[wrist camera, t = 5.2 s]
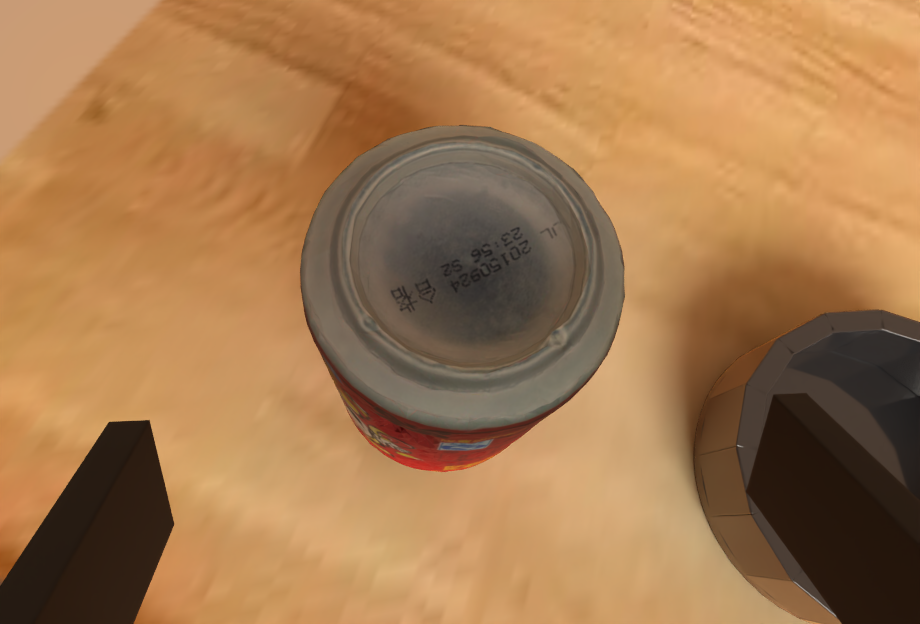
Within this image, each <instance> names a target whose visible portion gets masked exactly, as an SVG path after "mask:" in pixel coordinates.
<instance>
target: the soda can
mask: <svg viewBox="0 0 920 624" xmlns="http://www.w3.org/2000/svg"><path fill="white" fill-rule="evenodd" d="M300 276H301V292H302V299H303V305H304V312H305V317H306V321H307V325H308V327H309V330H310V332H311V335H312V337H313V340H314V342H315V344H316V346H317V348H318V350H319V351H320V353H321V356H322V358H323V360H324V362H325V364H326V366H327V368H328V370H329V373H330V375H331V377H332V379H333V381H334V383H335V385H336V387H337V389H338V391H339V393H340V396H341V398H342V400H343V402H344V404H345V406H346V408H347V411H348V413H349V415H350V417H351V419H352V420H353V422H354V424H355V425H356V427H357V428H358V430H359V431H360V432H361V433H362V435H363V436H364V437H365V438H366V439H367V441H368V442H369V443H370V444H371V445H372V446H374V447H375V448H377V449H378V450H379V451H381V452H382V453H383V454H384V455H386V456H387V457H389V458H391V459H393V460H395V461H396V462H398V463H401V464H403V465H406V466H409V467H412V468H416V469H421V470H429V471H440V472H447V471H454V470H462V469H466V468H469V467H472V466H475V465H478V464H480V463H482V462H484V461H486V460H488V459H490V458H492V457H493V456H495V455H497V454H498V453H500V452H501V451H503V450H504V449H505V448H507V447H508V446H509V445H510V444H511V443H513V442H514V441H516V440H517V439H519V438H520V437H521V436H523V435H524V434H525V433H526V432H528V431H529V430H530V429H531V428H533V427H534V426H535V425H536V424H537V423H539V422H540V421H541V420H543V419H544V418H546V417H547V416H548V415H550V414H551V413H553V412H555V411H556V410H557V409H559V408H560V407H561V406H563V405H564V404H565V403H567V402H568V401H569V400H570V399H571V398H572V397H573V396H574V395H575V394H576V393H577V392H578V391H579V390H580V389H581V388H582V387H583V386H584V385H585V384H586V383H587V382H588V381H589V380H590V379H591V378H592V376H593V375H594V374H595V372H596V371H597V369H598V368H599V366H600V365H601V363H602V362H603V360H604V359H605V357H606V356H607V354H608V352H609V350H610V347H611V345H612V342H613V340H614V338H615V334H616V331H617V328H618V325H619V321H620V316H621V312H622V307H623V302H624V298H625V292H624V262H623V255H622V250H621V246H620V243H619V240H618V237H617V234H616V231H615V228H614V226H613V224H612V222H611V220H610V218H609V216H608V215H607V213H606V212H605V211H604V209H603V208H602V206H601V205H600V203H599V202H598V200H597V198H596V196H595V194H594V192H593V191H592V190H591V188H590V187H589V186H588V185H587V184H586V183H585V181H584V180H583V179H582V177H581V176H580V175H579V174H578V173H577V172H576V171H575V170H574V169H573V168H571V167H570V166H568V165H567V164H566V163H564V162H563V161H562V160H560V159H559V158H557V157H556V156H554V155H553V154H552V153H550V152H548V151H547V150H545V149H544V148H542V147H540V146H539V145H537V144H535V143H533V142H530V141H528V140H525V139H522V138H519V137H517V136H514V135H511V134H508V133H504V132H502V131H499V130H496V129H494V128H491V127H482V126H467V125H459V126H434V127H428V128H424V129H421V130H417V131H414V132H409V133H405V134H401V135H398V136H396V137H393V138H390V139H387V140H386V141H384V142H382V143H381V144H379V145H377V146H375V147H374V148H372V149H370V150H369V151H367V152H365V153H363V154H362V155H360V156H358V157H357V158H356V159H355V160H354V161H353V162H352V163H351V164H350V165H349V166H348V167H347V168H346V169H345V170H343V171H342V173H341V174H340V175H339V176H338V177H337V178H336V179H335V181H334V182H333V183H332V184H331V185H330V186H329V188H328V189H327V190H326V191H325V193H324V194H323V196H322V198H321V200H320V202H319V204H318V206H317V208H316V210H315V212H314V214H313V217H312V220H311V223H310V226H309V229H308V232H307V234H306V237H305V242H304V246H303V250H302V256H301V267H300Z"/></svg>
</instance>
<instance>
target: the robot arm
mask: <svg viewBox="0 0 920 624" xmlns="http://www.w3.org/2000/svg"><path fill="white" fill-rule="evenodd" d="M746 492H747V494H748V495H749V496H750V498H751V499H752V501H753V502H754V503H755V505H756V506H757V507H758V509H759V510H760V512H761V513H762V514H763V516H764V517H765V519H766V520H767V521H768V523H769V524H770V525H771V527H772V528H773V530H774V531H775V532H776V534H777V535H778V536H779V538H780V539H781V541H782V542H783V543H784V545H785V546H786V548H787V549H788V550H789V552H790V553H791V554H792V556H793V557H794V559H795V560H796V561H797V563H798V564H799V565H800V567H801V568H802V570H803V571H804V572H805V574H806V575H807V577H808V578H809V579H810V581H811V582H812V583H813V585H814V586H815V588H816V589H817V590H818V592H819V593H820V594H821V596H822V597H823V599H824V600H825V601H826V603H827V604H828V606H829V607H830V608H831V610H832V611H833V612H834V614H835V615H836V617H837V618H838V619H839V621H840V622H841V623H842V624H920V500H919V499H918V498H917V497H916V496H915V495H914V494H913V493H911V492H910V491H909V490H908V489H907V488H906V487H905V486H904V485H903V484H902V483H901V482H900V481H899V480H898V479H897V478H896V477H895V476H893V475H892V474H891V473H890V472H889V471H888V470H887V469H886V468H885V467H884V466H883V465H882V464H881V463H880V462H879V461H878V460H877V459H875V458H874V457H873V456H872V455H871V454H870V453H869V452H868V451H867V450H866V449H865V448H864V447H863V446H862V445H861V444H860V443H859V442H858V441H856V440H855V439H854V438H853V437H852V436H851V435H850V434H849V433H848V432H847V431H846V430H845V429H844V428H843V427H842V426H841V425H840V424H838V423H837V422H836V421H835V420H834V419H833V418H832V417H831V416H830V415H829V414H828V413H827V412H826V411H825V410H824V409H823V408H822V407H820V406H819V405H818V404H817V403H816V402H815V401H814V400H813V399H812V398H811V397H810V396H809V395H808V394H807V393H795V394H773V397H772V401H771V405H770V408H769V412H768V415H767V419H766V422H765V426H764V429H763V433H762V436H761V440H760V444H759V447H758V451H757V454H756V458H755V461H754V465H753V468H752V472H751V476H750V479H749V483H748V486H747V490H746ZM173 526H174V521H173V517H172V513H171V508H170V504H169V500H168V496H167V492H166V488H165V483H164V479H163V475H162V471H161V467H160V462H159V458H158V454H157V450H156V446H155V441H154V437H153V433H152V429H151V425H150V421H149V420H145V421H120V422H109V423H108V424H107V426H106V427H105V429H104V430H103V432H102V433H101V435H100V436H99V438H98V439H97V441H96V442H95V444H94V446H93V447H92V449H91V450H90V452H89V453H88V455H87V456H86V458H85V459H84V461H83V462H82V464H81V465H80V467H79V468H78V470H77V471H76V473H75V474H74V476H73V477H72V479H71V480H70V482H69V483H68V485H67V486H66V488H65V489H64V491H63V492H62V494H61V495H60V497H59V498H58V500H57V501H56V503H55V504H54V506H53V507H52V509H51V510H50V512H49V513H48V515H47V516H46V518H45V519H44V521H43V522H42V524H41V525H40V527H39V528H38V530H37V531H36V533H35V534H34V536H33V537H32V539H31V540H30V542H29V543H28V545H27V546H26V548H25V550H24V551H23V553H22V554H21V556H20V557H19V559H18V560H17V562H16V563H15V565H14V566H13V568H12V569H11V571H10V572H9V574H8V575H7V577H6V578H5V580H4V581H3V583H2V584H1V586H0V624H134V621H135V619H136V616H137V614H138V611H139V609H140V606H141V604H142V602H143V599H144V597H145V594H146V592H147V589H148V587H149V585H150V582H151V580H152V577H153V575H154V572H155V570H156V567H157V565H158V563H159V560H160V558H161V555H162V553H163V550H164V548H165V545H166V543H167V541H168V538H169V536H170V533H171V531H172V528H173Z"/></svg>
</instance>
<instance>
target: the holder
mask: <svg viewBox="0 0 920 624" xmlns="http://www.w3.org/2000/svg"><path fill="white" fill-rule="evenodd" d="M795 393H807V394H808V395H809V396H810V397H811V398H812V399H813V400H814V401H815V402H816V403H817V404H818V405H819V406H820V407H822V408H823V409H824V410H825V411H826V412H827V413H828V414H829V415H830V416H831V417H832V418H833V419H834V420H835V421H836V422H837V423H838V424H840V425H841V426H842V427H843V428H844V429H845V430H846V431H847V432H848V433H849V434H850V435H851V436H852V437H853V438H854V439H855V440H856V441H858V442H859V443H860V444H861V445H862V446H863V447H864V448H865V449H866V450H867V451H868V452H869V453H870V454H871V455H872V456H873V457H874V458H875V459H877V460H878V461H879V462H880V463H881V464H882V465H883V466H884V467H885V468H886V469H887V470H888V471H889V472H890V473H891V474H892V475H893V476H895V477H896V478H897V479H898V480H899V481H900V482H901V483H902V484H903V485H904V486H905V487H906V488H907V489H908V490H909V491H910V492H911V493H913V494H914V495H915V496H916V497H917V498H918V499H919V500H920V322H918V321H915V320H912V319H909V318H905V317H902V316H899V315H896V314H893V313H890V312H887V311H884V310H860V311H843V312H826V313H824V314H820V315H818V316H816V317H814V318H812V319H810V320H808V321H806V322H804V323H802V324H801V325H799V326H797V327H795V328H793V329H791V330H789V331H787V332H785V333H783V334H781V335H779V336H777V337H775V338H774V339H772V340H770V341H768V342H766V343H764V344H763V345H761V346H759V347H757V348H755V349H753V350H751V351H750V352H748V353H746V354H744V355H742V356H740V357H739V358H738V359H736V361H735V362H734V363H733V364H732V365H731V366H730V367H728V368H727V369H726V370H725V371H724V373H723V374H722V375H721V376H720V378H719V379H718V380H717V381H716V383H715V384H714V386H713V388H712V389H711V391H710V393H709V394H708V396H707V398H706V401H705V403H704V406H703V408H702V410H701V413H700V417H699V421H698V425H697V429H696V437H695V445H694V467H695V475H696V482H697V488H698V492H699V496H700V500H701V503H702V507H703V509H704V512H705V515H706V517H707V520H708V522H709V525H710V527H711V529H712V531H713V533H714V535H715V537H716V539H717V541H718V542H719V544H720V546H721V547H722V549H723V550H724V552H725V553H726V555H727V556H728V558H729V559H730V561H731V562H732V564H733V565H734V566H735V567H736V568H737V569H738V571H739V572H740V573H741V574H742V575H743V577H744V578H745V579H746V580H747V581H748V582H749V583H750V584H751V585H752V586H753V587H755V588H756V589H757V590H758V591H759V592H760V593H761V594H762V595H763V596H765V597H766V598H767V599H769V600H770V601H771V602H773V603H774V604H775V605H777V606H778V607H780V608H781V609H783V610H785V611H787V612H788V613H790V614H792V615H794V616H795V617H797V618H799V619H802V620H804V621H807V622H809V623H812V624H842V623H841V622H840V621H839V619H838V618H837V617H836V615H835V614H834V612H833V611H832V610H831V608H830V607H829V606H828V604H827V603H826V601H825V600H824V599H823V597H822V596H821V594H820V593H819V592H818V590H817V589H816V588H815V586H814V585H813V583H812V582H811V581H810V579H809V578H808V577H807V575H806V574H805V572H804V571H803V570H802V568H801V567H800V565H799V564H798V563H797V561H796V560H795V559H794V557H793V556H792V554H791V553H790V552H789V550H788V549H787V548H786V546H785V545H784V543H783V542H782V541H781V539H780V538H779V536H778V535H777V534H776V532H775V531H774V530H773V528H772V527H771V525H770V524H769V523H768V521H767V520H766V519H765V517H764V516H763V514H762V513H761V512H760V510H759V509H758V507H757V506H756V505H755V503H754V502H753V501H752V499H751V498H750V496H749V495H748V494H747V492H746V490H747V486H748V483H749V479H750V476H751V472H752V468H753V465H754V461H755V458H756V454H757V451H758V447H759V444H760V440H761V436H762V433H763V429H764V426H765V422H766V419H767V415H768V412H769V408H770V405H771V401H772V397H773V394H795Z"/></svg>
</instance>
